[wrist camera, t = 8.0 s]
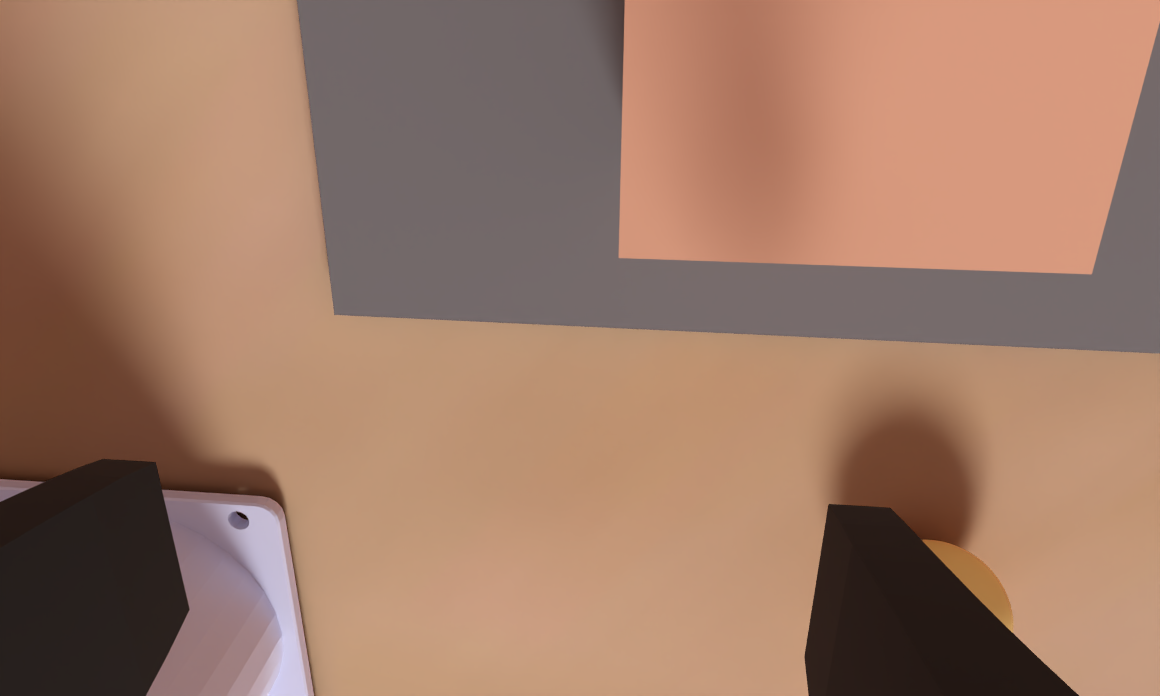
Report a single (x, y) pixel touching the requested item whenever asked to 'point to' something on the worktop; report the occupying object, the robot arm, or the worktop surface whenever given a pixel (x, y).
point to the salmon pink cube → (878, 130)
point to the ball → (975, 578)
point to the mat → (592, 198)
